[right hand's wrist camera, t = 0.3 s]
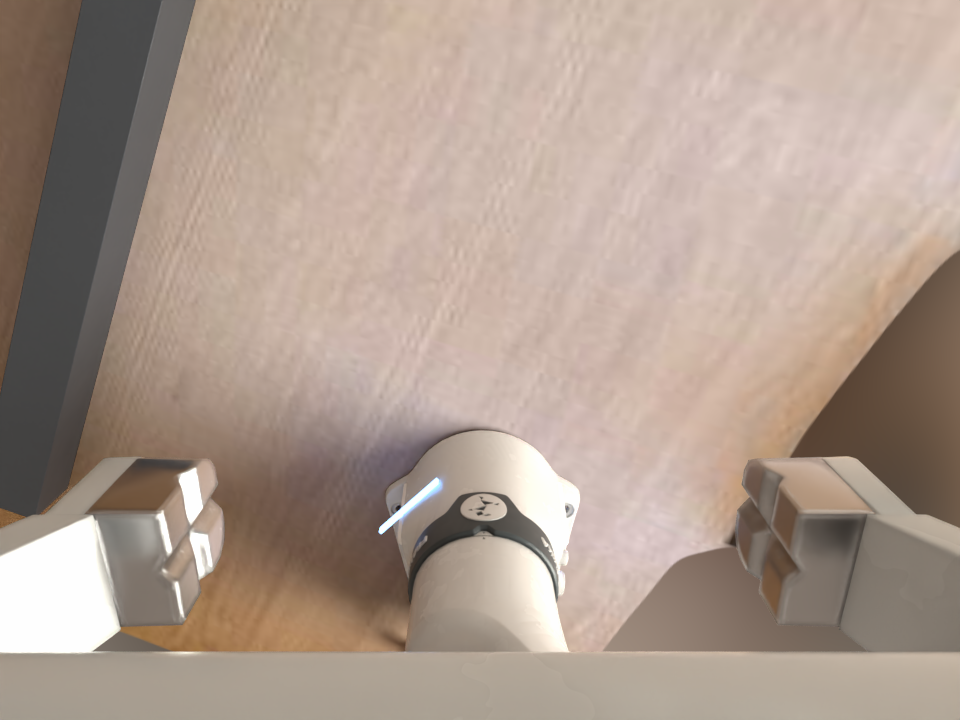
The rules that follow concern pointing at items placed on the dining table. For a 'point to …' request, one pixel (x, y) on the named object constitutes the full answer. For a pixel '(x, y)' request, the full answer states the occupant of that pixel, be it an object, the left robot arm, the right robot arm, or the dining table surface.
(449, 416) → the dining table surface
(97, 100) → the post
